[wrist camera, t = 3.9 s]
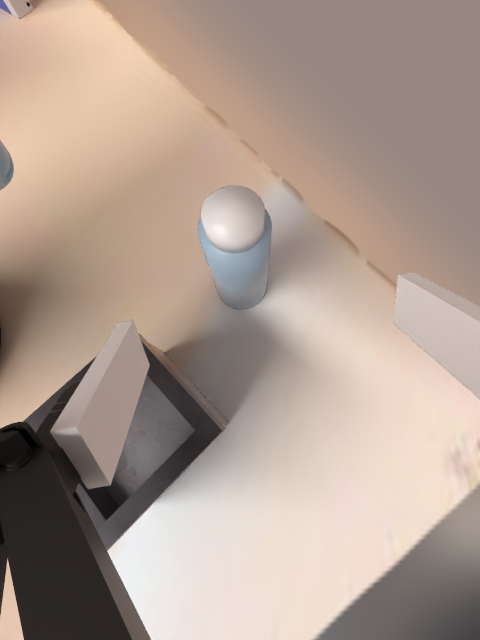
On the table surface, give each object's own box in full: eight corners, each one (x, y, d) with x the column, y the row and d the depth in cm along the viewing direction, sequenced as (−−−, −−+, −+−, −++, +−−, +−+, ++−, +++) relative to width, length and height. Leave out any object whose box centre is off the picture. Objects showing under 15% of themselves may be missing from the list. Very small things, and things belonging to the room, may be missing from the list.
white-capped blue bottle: (206, 286, 29) (176, 213, 18) (242, 254, 30) (233, 166, 19) (241, 319, 28) (231, 263, 17) (277, 285, 29) (289, 210, 18)
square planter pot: (85, 422, 26) (15, 428, 19) (163, 349, 28) (129, 327, 20) (150, 508, 24) (101, 555, 16) (232, 423, 26) (222, 431, 18)
